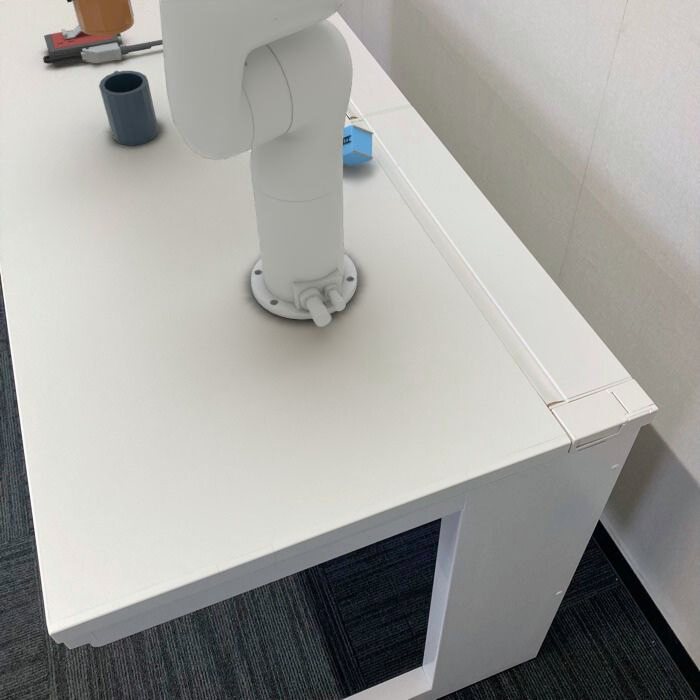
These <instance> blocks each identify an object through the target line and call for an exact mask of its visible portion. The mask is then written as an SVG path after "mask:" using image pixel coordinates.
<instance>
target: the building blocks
mask: <svg viewBox="0 0 700 700" xmlns="http://www.w3.org/2000/svg"><path fill="white" fill-rule="evenodd" d="M373 135H374V132H372V131H370V130H368V129H366V128H362V127H360V126H358V125H356V124H350V125H347V126H344V134H343V165H345V166H348V167H356V166H359V165H362V164H364V163H367V162H371V161H372V160H373V159H374V156H373Z"/></svg>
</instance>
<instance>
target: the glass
mask: <svg viewBox="0 0 700 700" xmlns="http://www.w3.org/2000/svg"><path fill="white" fill-rule="evenodd" d="M71 3H72V6H73V7H72V8H73V10H74V14H75V17H76V22H77V24H78V25H79V28H80V30H81V31H82V32H84V33H86V34H88V35H92V36H111V35H116V34H119V33H120V34H122V33H124V32H126V31H129V30H130V29H131V28H132V26H133V25H134V24H135V15H134V11H133V6H132V1H131V0H72V2H71Z"/></svg>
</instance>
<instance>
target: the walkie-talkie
mask: <svg viewBox="0 0 700 700" xmlns="http://www.w3.org/2000/svg"><path fill="white" fill-rule="evenodd" d="M121 34H122V33H119V34H116V35H111V36H92V35H88V34H86V33H84V32H82V31H81V30H80V28H79V24H78V25H76V26H75V28H73V29H70V30H66V29H65V28H61V31H59V32H54V33H49V34H45V35H43V38H44V42H45V44H46V48H47V51H48V54H46V55H44V56H43V58H42V60H43V63H45V64H51V65H52V66H57V67H63V66H67V65H68V66H69V65H72V64H73V65H74V64H79V63H83V62H86V63H92V64H101V63H107V62H111V61H119V60H122V59H123V55H128V54H129V53H134V52H140V51H146V50H151V49H152V47H157V46H161V45H162V46H163V42H162V39H158V40H153V41H148V42H147V41H146V42H142V43H137V44H131V45H126V44H125V45H124V44H120V43H121V42H123V39H122V35H121Z"/></svg>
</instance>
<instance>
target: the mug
mask: <svg viewBox="0 0 700 700" xmlns="http://www.w3.org/2000/svg"><path fill="white" fill-rule="evenodd" d="M98 87H99V88H98V89H99V92H100V95H101V98H102V102H103V106H104V110H105V113H106V117H107V121H108V125H109V129H110V133H111V135H112V139H113V140H114V141H115V142H117V143H118V144H121V145H125V146H138V145H139V146H140V145H143V144H146V143H148V142H151V141H152V140H153V139H155V138H156V137H157V135H158V134H159V125H158V119H157V115H156V111H155V106H154V103H153V102H154V101H153V97H152V93H151V87H150V83H149V80H148V78H147V76H146V75H145V74H144V73H142V72H139V71H136V70H120V71H119V70H114V71H113V72H112V73H110V74H108V75H106V76H104V77H103V78H102V79H101V80H100V82H99V84H98Z"/></svg>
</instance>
